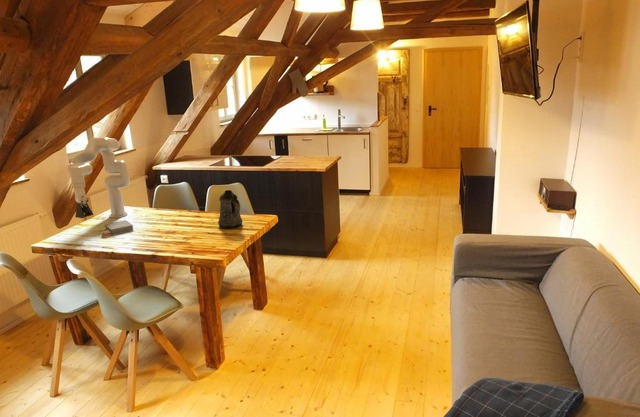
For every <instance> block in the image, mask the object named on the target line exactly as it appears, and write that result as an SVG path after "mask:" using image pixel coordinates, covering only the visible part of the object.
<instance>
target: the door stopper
mask: <svg viewBox="0 0 640 417" xmlns="http://www.w3.org/2000/svg"><path fill="white" fill-rule="evenodd" d="M85 201H86V206H87V213H83V208H82V210H81V203H78V202H76V208H75V218H78V219H85V218H87V217H90V216H94V213H93V211H92V210H91V207H90V206H89V204H88V200H87V199H86V200H85ZM82 202H83V201H82ZM82 204H83V203H82Z"/></svg>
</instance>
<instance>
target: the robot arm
mask: <svg viewBox="0 0 640 417" xmlns="http://www.w3.org/2000/svg"><path fill="white" fill-rule="evenodd" d="M119 148H120V143H119V141H118V140H117V139H116V138H111V137H92V138H91V139H89V140H88V142H87V145H86V146H85V148H84V150H83V151H81V152H80V153H78V154H77V155H76V156H74V157H73V158H72V159H71V160H70V162H69V164H68V168H67V170H68V173H69V175H70V179H71V186H72V189H73V192H74V200H75V202H76V203H77V202H78V203H81V210H82V208H83V213H84V214H85V213H87V206H86V201H85V200H87V195H86V190H85V188H86V181H85V176H88V175H90V174H92V172H93V166H92V165H91V164H90V163H89V162H92V161H94V160H96V158H97V156H98V154H100V155H101V156H102V163H103V168H104V171H105V172H106V173H107V174H108V175H106V177H105V178H104V184H105V187H106V190H107V195H108V202H109V209H110V214H109V218H113V219H117V218H122V217H126V216H127V215H128V212H126V211H125V205H124V198H123V193H122V191H121V189H120V188H127V187H129V186H130V185H131V178H130V173H129V167H128V163H127V162H126V161H124V160H117V159H116V156H115V152H114V151H117V150H118V149H119ZM82 201H83V202H82ZM82 203H83V204H82Z"/></svg>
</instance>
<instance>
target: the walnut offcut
mask: <svg viewBox="0 0 640 417" xmlns="http://www.w3.org/2000/svg"><path fill="white" fill-rule="evenodd" d="M101 235H102V237H103V238H108V237H112V235H111V232H110V231H108V230H104V231H101Z"/></svg>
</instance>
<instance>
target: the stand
mask: <svg viewBox="0 0 640 417" xmlns="http://www.w3.org/2000/svg"><path fill="white" fill-rule="evenodd" d="M104 228H105V231H107V230H108V231H110V232H111V236H115V235H119V234H124V233H128V232H132V231H133V232H134V227H133V224H132V223H131V222H129V221H127V220H126V219H124V220H118V221H113V222H108V223H104Z"/></svg>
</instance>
